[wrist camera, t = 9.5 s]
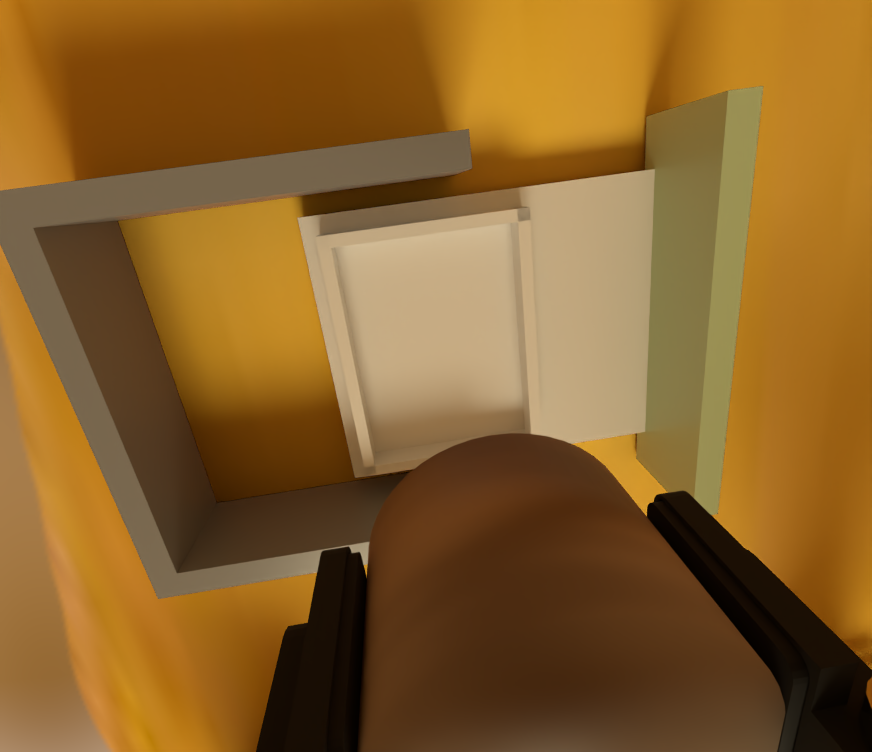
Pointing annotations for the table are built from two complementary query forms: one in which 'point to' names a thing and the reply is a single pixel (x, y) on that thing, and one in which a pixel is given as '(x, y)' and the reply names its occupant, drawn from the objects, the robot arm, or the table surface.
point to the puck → (545, 618)
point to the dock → (148, 369)
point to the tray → (550, 306)
